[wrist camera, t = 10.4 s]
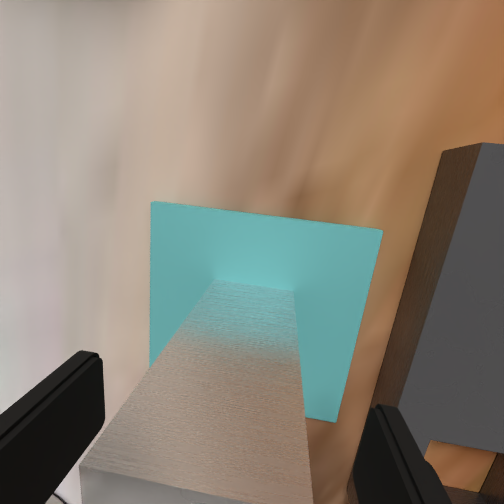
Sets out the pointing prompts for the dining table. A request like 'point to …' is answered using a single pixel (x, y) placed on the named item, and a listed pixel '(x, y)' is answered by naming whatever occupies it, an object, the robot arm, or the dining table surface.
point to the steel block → (212, 412)
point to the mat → (268, 282)
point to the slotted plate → (454, 319)
